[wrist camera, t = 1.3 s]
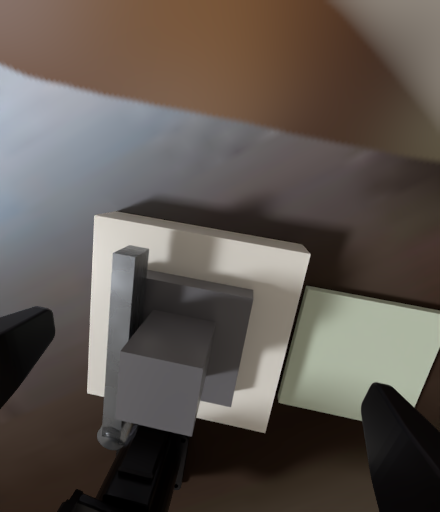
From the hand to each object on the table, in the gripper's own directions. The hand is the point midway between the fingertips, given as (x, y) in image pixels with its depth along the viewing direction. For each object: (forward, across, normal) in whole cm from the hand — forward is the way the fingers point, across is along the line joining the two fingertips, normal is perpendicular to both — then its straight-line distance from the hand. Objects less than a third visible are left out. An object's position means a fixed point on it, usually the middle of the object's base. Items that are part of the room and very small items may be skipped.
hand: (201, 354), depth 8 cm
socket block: (+12, +3, +8) cm, 15 cm away
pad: (+12, -10, +9) cm, 18 cm away
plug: (+12, +3, +8) cm, 14 cm away
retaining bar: (+9, +6, +8) cm, 13 cm away
